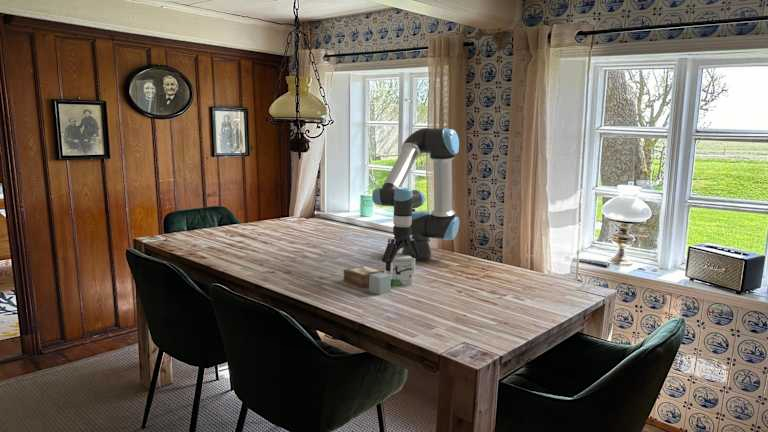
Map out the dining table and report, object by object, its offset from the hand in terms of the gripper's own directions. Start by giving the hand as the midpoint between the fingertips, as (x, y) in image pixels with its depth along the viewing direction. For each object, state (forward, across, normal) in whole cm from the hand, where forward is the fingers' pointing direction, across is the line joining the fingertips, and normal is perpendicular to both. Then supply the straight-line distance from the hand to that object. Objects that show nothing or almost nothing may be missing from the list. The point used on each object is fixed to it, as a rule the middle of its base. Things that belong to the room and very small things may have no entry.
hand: (401, 275), depth 223 cm
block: (+4, +14, +2) cm, 15 cm away
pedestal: (+4, +10, -12) cm, 16 cm away
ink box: (+4, 0, 0) cm, 4 cm away
